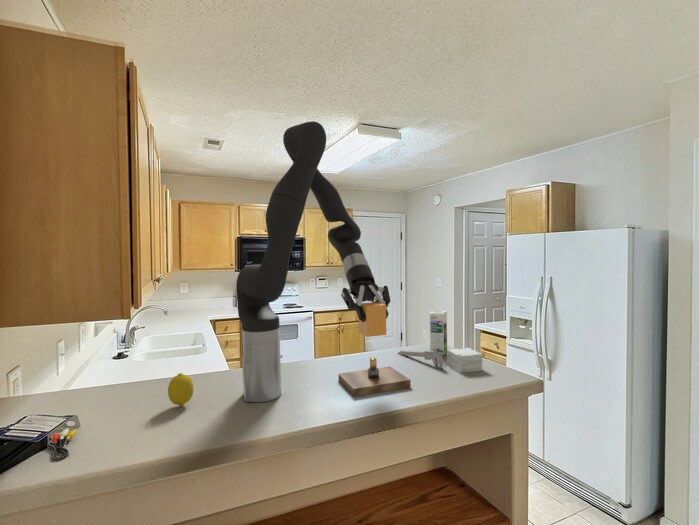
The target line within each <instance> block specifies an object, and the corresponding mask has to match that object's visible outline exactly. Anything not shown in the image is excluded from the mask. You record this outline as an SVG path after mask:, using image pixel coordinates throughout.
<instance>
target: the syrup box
mask: <svg viewBox="0 0 699 525" xmlns="http://www.w3.org/2000/svg"><path fill="white" fill-rule="evenodd" d="M447 315H448V312H447V310H430V312H429V351H434V348H439V350H440V352H441V353H442V356H447V350H448V316H447Z"/></svg>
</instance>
